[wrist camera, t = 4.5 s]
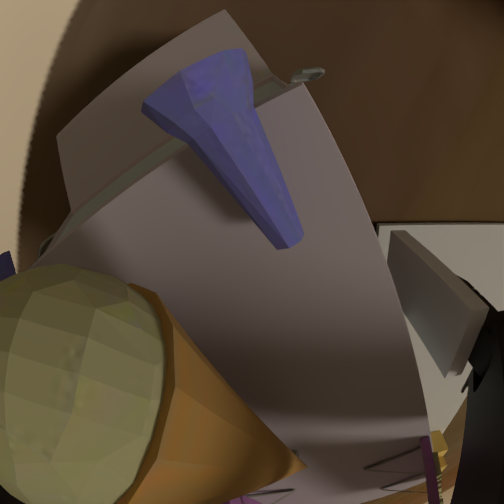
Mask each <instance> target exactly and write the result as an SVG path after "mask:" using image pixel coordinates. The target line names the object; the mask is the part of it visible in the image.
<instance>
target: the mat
mask: <svg viewBox="0 0 504 504" xmlns="http://www.w3.org/2000/svg"><path fill="white" fill-rule="evenodd" d="M391 230H405V231H407V232H408V233H409V234H410V235H411V236H413V237H414V238H415V239H416V240H417V241H419V242H420V243H421V244H422V245H423V246H424V247H426V248H427V249H428V250H429V251H430V252H431V253H432V254H434V255H435V256H436V257H437V258H438V259H439V260H440V261H441V262H443V263H444V264H445V265H446V266H447V267H448V268H449V269H450V270H451V271H452V272H453V273H455V274H456V275H458V276H459V277H461V278H463V279H465V280H467V281H468V282H469V283H470V284H471V285H472V286H473V287H474V288H475V289H476V290H477V291H478V292H479V293H480V295H483V296H484V297H485V298H486V299H487V300H488V301H489V302H490V303H491V304H492V305H493V306H494V307H495V309H496V310H497V311H498V312H499V311H502V310H504V223H377V228H376V235H377V238H378V240H379V243H380V245H381V248H382V251H383V254H384V256H385V259H386V262H387V257H388V250H389V241H390V233H391ZM404 317H405V320H406V324H407V327H408V331H409V335H410V338H411V342H412V346H413V350H414V354H415V358H416V362H417V366H418V370H419V375H420V379H421V384H422V389H423V393H424V398H425V403H426V409H427V414H428V420H429V426H430V432H434V431H438V430H440V431H441V433H442V434H443V432H444V431H445V429H446V428H447V426H448V425H449V423H450V422H451V420H452V419H453V417H454V416H455V414H456V413H457V411H458V409H459V408H460V406H461V404H462V403H463V401H464V399H465V398H466V396H467V392H468V387H467V388H466V389H465V391H464V393H461V390H462V387H463V385H464V384H465V382H466V380H467V378H468V376H469V374H470V372H471V370H472V368H473V367H472V366H471V364H470V363H469V362H467V364H466V366H465V368H464V370H463V372H462V374H461V375H457V376H454V377H450V378H447V379H445V378H444V377H443V375H442V373H441V372H440V370H439V368H438V367H437V365H436V363H435V362H434V360H433V358H432V357H431V355H430V353H429V352H428V350H427V348H426V347H425V345H424V344H423V342H422V340H421V339H420V337H419V336H418V334H417V333H416V331H415V329H414V328H413V326H412V325H411V323H410V322H409V320H408V319H407V317H406V316H405V314H404Z"/></svg>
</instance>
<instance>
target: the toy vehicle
mask: <svg viewBox="0 0 504 504" xmlns="http://www.w3.org/2000/svg"><path fill="white" fill-rule="evenodd" d="M324 74H325V70H324V69H322V68H320V67H309V68H301V69H298V70H296V71H294V73H293V74H292V76H291V78H290V82H292V83H290V84H286V83H285V82H283V81H282V80H280V79H279V78H278V77H276V76H275V75H273V74H272V73H271V71H270V70H269V68H268V67H267V65H266V64H265V62H264V61H263V59H262V58H261V57H260V55H259V54H258V52H257V51H256V50H255V48H254V47H253V45H252V44H251V43H250V41H249V40H248V39H247V37H246V36H245V35H244V33H243V32H242V31H241V29H240V28H239V27H238V25H237V24H236V23H235V21H234V20H233V19H232V17H231V16H230V15H229V14H228V12H227V11H226V10H225V9H224V10H222V11H220V12H218V13H216V14H214V15H213V16H211V17H209V18H207V19H205V20H204V21H202V22H200V23H198V24H197V25H195V26H193V27H192V28H190V29H188V30H187V31H185V32H183V33H182V34H180V35H179V36H177V37H175V38H174V39H172V40H171V41H169V42H168V43H166V44H165V45H163V46H162V47H160V48H159V49H157V50H156V51H154V52H153V53H152V54H150V55H149V56H147V57H146V58H145V59H143V60H142V61H140V62H139V63H138V64H136V65H135V66H134V67H132V68H131V69H130V70H129V71H127V72H126V73H125V74H123V75H122V76H121V77H120V78H118V79H117V80H116V81H115V82H114V83H112V84H111V85H110V86H109V87H108V88H106V89H105V90H104V91H103V92H102V93H101V94H99V95H98V96H97V97H96V98H95V99H94V100H93V101H91V102H90V103H89V104H88V105H87V106H86V107H85V108H84V109H83V110H82V111H81V112H80V113H79V114H78V115H76V116H75V117H74V118H73V119H72V120H71V121H70V122H69V123H68V124H67V125H66V126H65V127H64V128H63V129H62V130H61V131H60V132H59V134H58V135H57V136H56V138H57V145H58V151H59V156H60V162H61V167H62V172H63V177H64V182H65V186H66V191H67V195H68V199H69V204H70V208H71V212H70V213H69V215H68V216H67V218H66V219H65V221H64V222H63V224H62V225H61V227H60V228H59V230H58V231H57V232H55V233H54V234H52V235H51V236H50V237H48V238H47V239H46V240H44V241H43V242H42V244H41V245H40V247H39V251H38V256H37V257H38V258H39V259H38V260H37V261H36V262H35V263H34V264H32V265H31V266H30V267H29V268H28V269H27V270H26V271H24V272H21V273H18V274H16V272H15V268H14V264H13V261H12V258H11V254H10V251H7V252H4V253H2V254H1V255H0V485H1V486H2V487H3V488H4V489H5V490H6V491H7V492H8V493H10V494H11V495H12V496H14V497H15V498H17V499H18V500H20V501H22V502H23V503H25V504H221V503H222V504H360V503H364V502H367V501H371V500H374V499H377V498H381V497H384V496H387V495H390V494H393V493H396V492H412V491H402V490H404V489H407V488H410V487H412V486H415V485H418V484H420V483H423V482H425V481H426V484H427V492H421V493H428V502H429V504H443V499H441V497H442V496H441V479H442V477H441V476H442V474H441V468H440V462H439V456H438V452H433V446H432V439H431V432H430V426H429V420H428V414H427V409H426V403H425V398H424V393H423V389H422V384H421V379H420V375H419V370H418V366H417V362H416V358H415V354H414V350H413V346H412V342H411V338H410V335H409V331H408V327H407V324H406V320H405V317H404V313H403V310H402V307H401V303H400V300H399V297H398V294H397V290H396V287H395V284H394V281H393V278H392V275H391V272H390V269H389V268H388V265H387V262H386V259H385V256H384V254H383V251H382V248H381V245H380V243H379V240H378V238H377V235H376V232H375V230H374V227H373V225H372V222H371V220H370V217H369V215H368V212H367V210H366V208H365V205H364V203H363V201H362V198H361V196H360V194H359V191H358V189H357V187H356V184H355V182H354V180H353V178H352V176H351V173H350V171H349V169H348V167H347V165H346V163H345V161H344V159H343V156H342V154H341V152H340V150H339V148H338V146H337V144H336V142H335V140H334V138H333V136H332V134H331V132H330V130H329V128H328V126H327V125H326V123H325V121H324V119H323V117H322V115H321V113H320V111H319V110H318V108H317V106H316V104H315V102H314V100H313V99H312V97H311V95H310V93H309V92H308V90H307V88H306V86H305V85H304V83H303V82H304V81H312V80H316V79H318V78H319V77H321V76H322V75H324Z"/></svg>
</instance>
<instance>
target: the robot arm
mask: <svg viewBox="0 0 504 504" xmlns="http://www.w3.org/2000/svg"><path fill="white" fill-rule="evenodd" d="M387 265H388V268H389V269H390V272H391V275H392V278H393V281H394V284H395V287H396V290H397V294H398V297H399V300H400V303H401V307H402V310H403V313H404V314H405V316H406V317H407V319H408V320H409V322H410V323H411V325H412V326H413V328H414V329H415V331H416V333H417V334H418V336H419V337H420V339H421V340H422V342H423V344H424V345H425V347H426V348H427V350H428V352H429V353H430V355H431V357H432V358H433V360H434V362H435V363H436V365H437V367H438V368H439V370H440V372H441V373H442V375H443V377H444V378H445V379H447V378H450V377H454V376H457V375H461V374H462V372H463V370H464V368H465V366H466V364H467V362H469V363H470V364H471V366H472V367H473V368H472V370H471V372H470V374H469V376H468V378H467V380H466V382H465V384H464V385H463V387H462V390H461V393H464V391H465V389H466V388H467V387H468V392H467V394H468V399H467V411H466V422H465V430H464V438H463V445H462V452H461V458H460V463H459V468H458V473H457V478H456V483H455V487H454V492H453V496H452V499H451V503H450V504H504V310H502V311H499V312H498V311H497V310H496V309H495V307H494V306H493V305H492V304H491V303H490V302H489V301H488V300H487V299H486V298H485V297H484V296H483V295H480V293H479V292H478V291H477V290H476V289H475V288H474V287H473V286H472V285H471V284H470V283H469V282H468V281H467V280H465V279H463V278H461V277H459V276H458V275H456V274H455V273H453V272H452V271H451V270H450V269H449V268H448V267H447V266H446V265H445V264H444V263H443V262H441V261H440V260H439V259H438V258H437V257H436V256H435V255H434V254H432V253H431V252H430V251H429V250H428V249H427V248H426V247H424V246H423V245H422V244H421V243H420V242H419V241H417V240H416V239H415V238H414V237H413V236H411V235H410V234H409V233H408V232H407V231H405V230H391V233H390V241H389V250H388V257H387ZM0 504H25V503H23V502H22V501H20V500H18V499H17V498H15V497H14V496H12V495H11V494H10V493H8V492H7V491H6V490H5V489H4V488H3V487H2V486H1V485H0Z"/></svg>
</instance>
